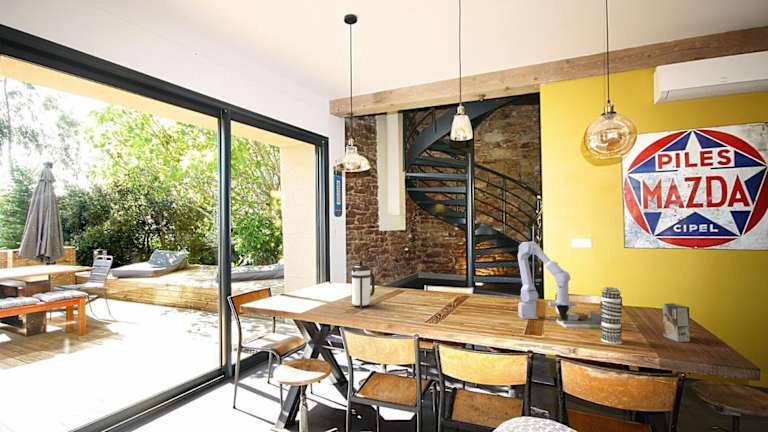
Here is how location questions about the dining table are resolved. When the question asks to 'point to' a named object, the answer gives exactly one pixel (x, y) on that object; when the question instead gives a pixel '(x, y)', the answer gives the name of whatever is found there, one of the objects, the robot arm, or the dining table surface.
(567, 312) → the medicine bottle
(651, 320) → the dining table surface
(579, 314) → the marker
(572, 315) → the plunger
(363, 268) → the coffee press
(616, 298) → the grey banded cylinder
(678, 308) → the coffee box
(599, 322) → the scale board
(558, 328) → the dining table surface
